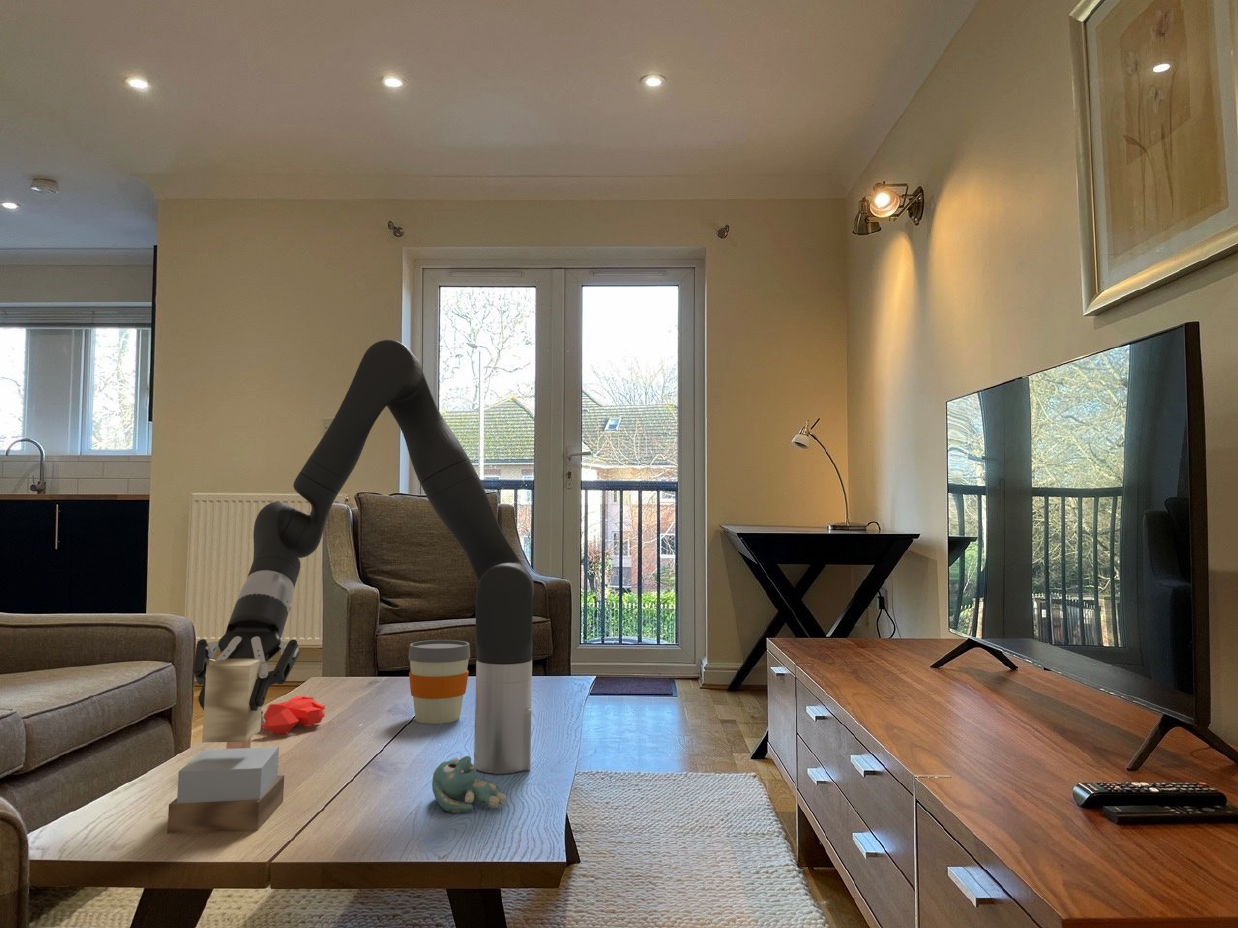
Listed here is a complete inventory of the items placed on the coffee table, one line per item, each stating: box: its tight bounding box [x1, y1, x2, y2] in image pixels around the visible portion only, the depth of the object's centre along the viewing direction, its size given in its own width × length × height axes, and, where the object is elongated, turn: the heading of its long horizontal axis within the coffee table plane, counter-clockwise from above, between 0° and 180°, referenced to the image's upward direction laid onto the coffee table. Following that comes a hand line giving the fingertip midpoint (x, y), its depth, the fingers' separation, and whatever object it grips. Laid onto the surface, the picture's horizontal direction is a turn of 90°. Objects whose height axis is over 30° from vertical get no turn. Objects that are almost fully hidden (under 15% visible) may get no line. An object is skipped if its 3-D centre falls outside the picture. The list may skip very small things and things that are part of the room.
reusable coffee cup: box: [407, 639, 471, 725], centre depth 164 cm, size 13×13×15 cm
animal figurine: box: [261, 695, 326, 735], centre depth 154 cm, size 12×15×5 cm
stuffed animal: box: [431, 755, 507, 814], centre depth 114 cm, size 11×7×12 cm
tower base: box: [166, 775, 285, 834], centre depth 108 cm, size 11×11×4 cm
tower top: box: [176, 746, 280, 804], centre depth 108 cm, size 10×10×4 cm
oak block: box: [201, 659, 263, 743], centre depth 109 cm, size 6×6×10 cm
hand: (229, 707), depth 107 cm, fingers closed on oak block, 5 cm apart
